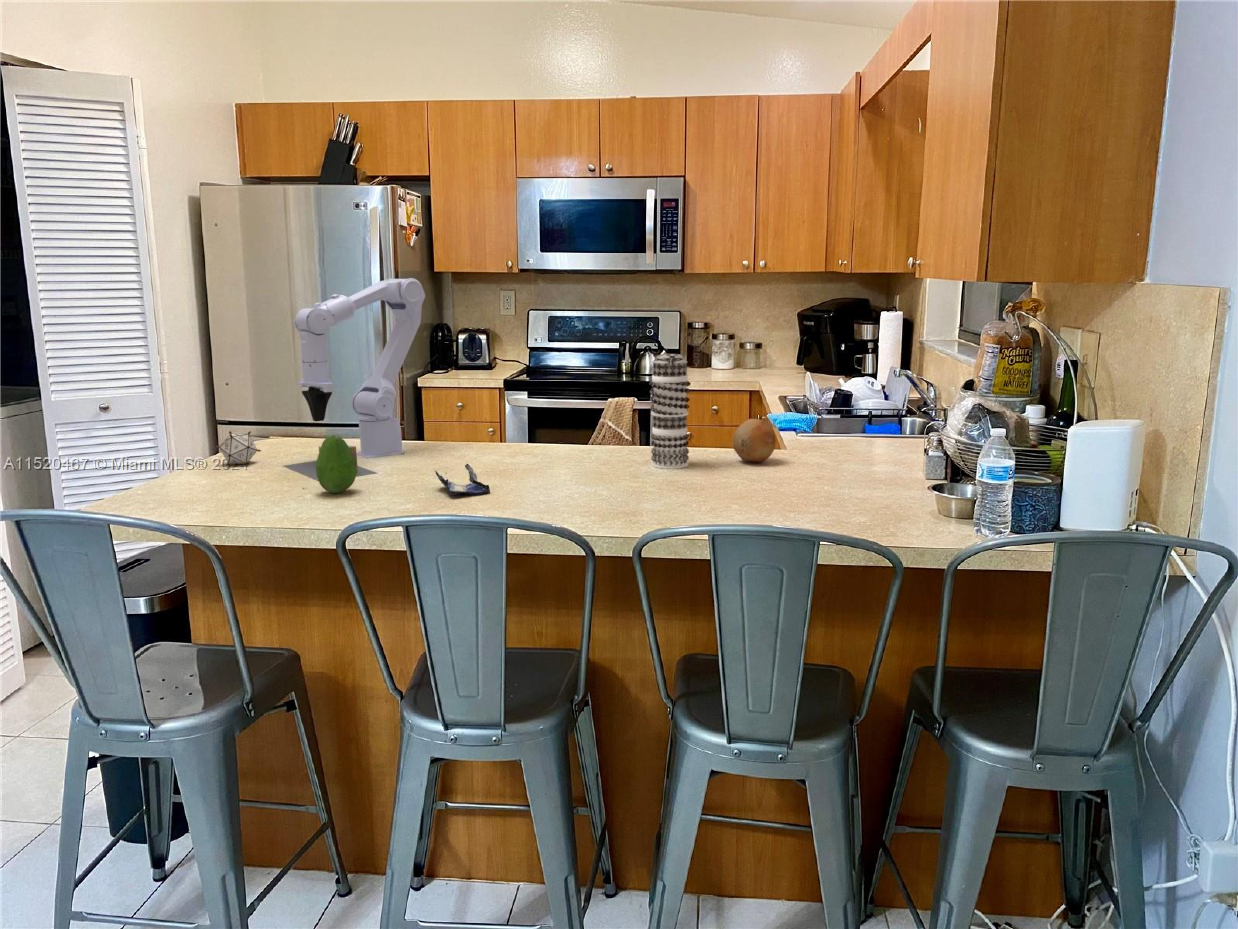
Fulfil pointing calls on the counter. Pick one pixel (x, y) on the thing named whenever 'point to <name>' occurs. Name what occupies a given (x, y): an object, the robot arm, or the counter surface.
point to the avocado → (335, 465)
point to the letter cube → (353, 449)
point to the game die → (238, 448)
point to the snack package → (470, 488)
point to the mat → (310, 469)
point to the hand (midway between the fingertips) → (318, 420)
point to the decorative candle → (669, 411)
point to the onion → (754, 440)
